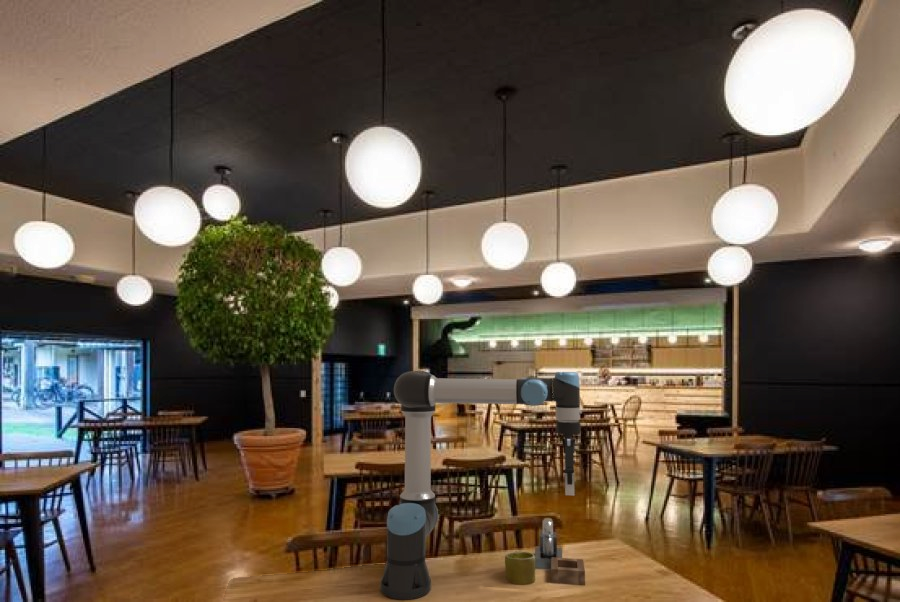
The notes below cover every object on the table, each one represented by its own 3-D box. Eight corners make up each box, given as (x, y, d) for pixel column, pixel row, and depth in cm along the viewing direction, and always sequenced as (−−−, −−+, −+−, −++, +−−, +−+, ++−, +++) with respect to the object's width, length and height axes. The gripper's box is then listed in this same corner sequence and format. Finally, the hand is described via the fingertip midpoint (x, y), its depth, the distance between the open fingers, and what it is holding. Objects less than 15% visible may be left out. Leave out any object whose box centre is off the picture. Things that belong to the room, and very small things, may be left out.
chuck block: (534, 571, 174) (534, 542, 175) (535, 557, 186) (535, 530, 187) (562, 573, 172) (562, 544, 173) (562, 559, 184) (561, 532, 185)
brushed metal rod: (543, 566, 175) (542, 522, 177) (543, 563, 179) (542, 519, 180) (553, 567, 175) (552, 523, 176) (553, 563, 178) (552, 520, 180)
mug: (540, 585, 159) (530, 549, 163) (507, 593, 161) (498, 557, 164) (544, 577, 170) (534, 544, 174) (513, 585, 172) (504, 552, 175)
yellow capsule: (544, 541, 182) (543, 520, 183) (544, 538, 185) (543, 517, 186) (552, 542, 182) (552, 520, 182) (552, 539, 184) (552, 518, 185)
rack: (551, 586, 163) (551, 568, 163) (551, 573, 172) (551, 557, 173) (585, 588, 161) (584, 571, 161) (583, 575, 171) (583, 559, 171)
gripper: (581, 425, 157) (583, 500, 155) (579, 417, 181) (580, 481, 179) (555, 425, 159) (557, 499, 156) (556, 416, 183) (557, 480, 180)
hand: (569, 489), depth 168 cm, fingers open, 13 cm apart
